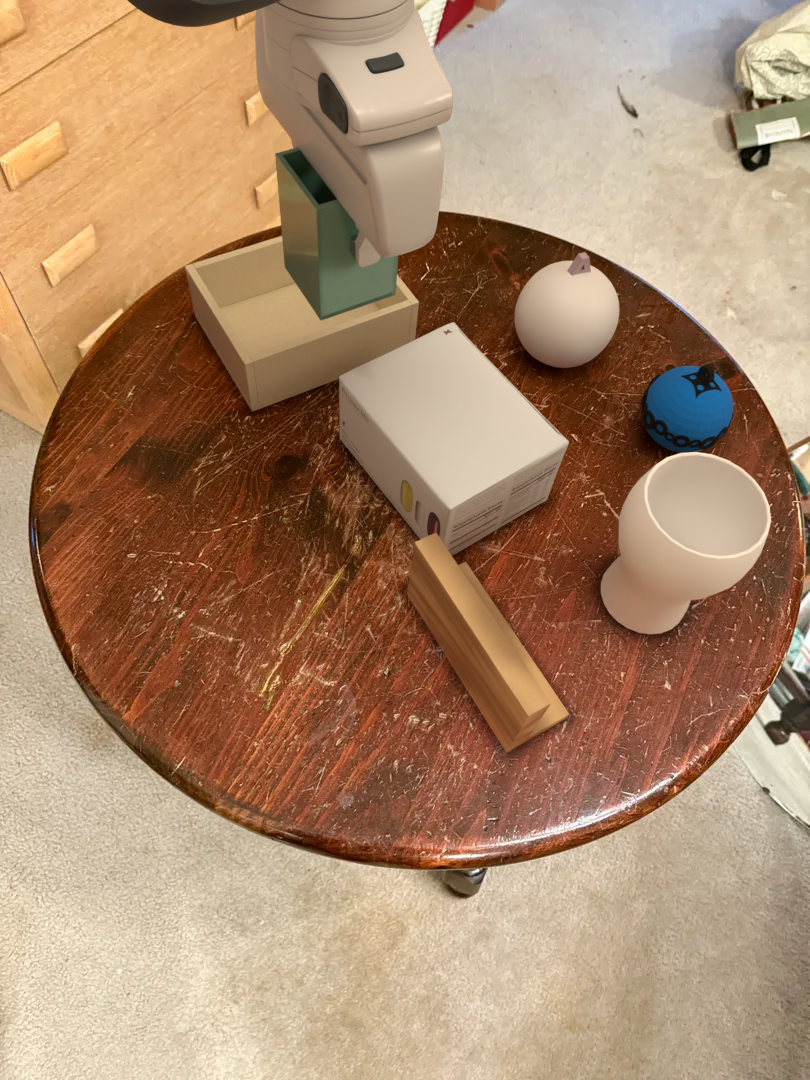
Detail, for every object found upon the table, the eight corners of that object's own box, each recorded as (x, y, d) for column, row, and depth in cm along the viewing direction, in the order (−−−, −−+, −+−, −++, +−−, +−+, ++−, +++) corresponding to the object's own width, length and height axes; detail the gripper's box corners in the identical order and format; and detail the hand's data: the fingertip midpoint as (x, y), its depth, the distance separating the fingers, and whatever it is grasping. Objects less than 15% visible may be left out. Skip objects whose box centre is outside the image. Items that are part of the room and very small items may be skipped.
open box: (252, 412, 81) (244, 364, 75) (195, 316, 87) (184, 265, 81) (414, 350, 86) (419, 302, 81) (349, 265, 92) (350, 214, 87)
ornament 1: (548, 302, 91) (574, 211, 81) (621, 353, 88) (657, 264, 78) (488, 348, 87) (507, 257, 77) (562, 402, 84) (593, 315, 74)
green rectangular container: (358, 338, 66) (254, 290, 57) (322, 286, 69) (217, 232, 60) (456, 224, 62) (361, 151, 52) (414, 174, 64) (316, 96, 55)
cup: (631, 524, 77) (690, 423, 64) (724, 598, 73) (806, 507, 61) (560, 592, 73) (607, 498, 60) (655, 674, 69) (727, 593, 56)
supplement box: (336, 440, 80) (335, 374, 72) (443, 385, 84) (454, 318, 76) (438, 566, 73) (449, 510, 65) (549, 500, 78) (572, 439, 70)
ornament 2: (729, 458, 82) (775, 391, 73) (655, 480, 80) (693, 414, 71) (686, 395, 86) (724, 325, 77) (614, 414, 84) (645, 344, 75)
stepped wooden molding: (506, 753, 65) (528, 716, 57) (406, 594, 72) (414, 542, 64) (567, 718, 67) (596, 677, 59) (464, 566, 73) (478, 512, 66)
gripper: (221, -40, 52) (244, 157, 64) (370, 138, 43) (365, 328, 55) (310, -58, 54) (317, 137, 66) (470, 110, 45) (445, 300, 57)
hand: (340, 226), depth 61 cm, fingers closed on green rectangular container, 6 cm apart
